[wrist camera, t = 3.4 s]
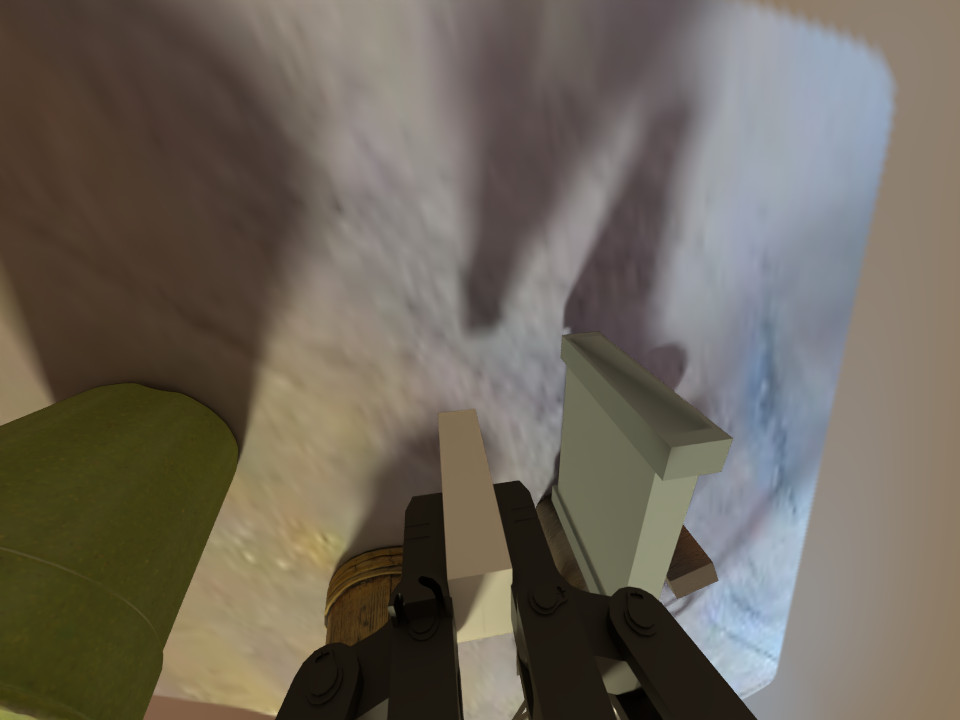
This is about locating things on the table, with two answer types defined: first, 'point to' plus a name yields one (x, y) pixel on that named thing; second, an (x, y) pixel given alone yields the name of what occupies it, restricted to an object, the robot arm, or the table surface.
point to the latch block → (689, 566)
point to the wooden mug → (362, 595)
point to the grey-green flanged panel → (627, 465)
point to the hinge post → (561, 547)
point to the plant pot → (101, 545)
